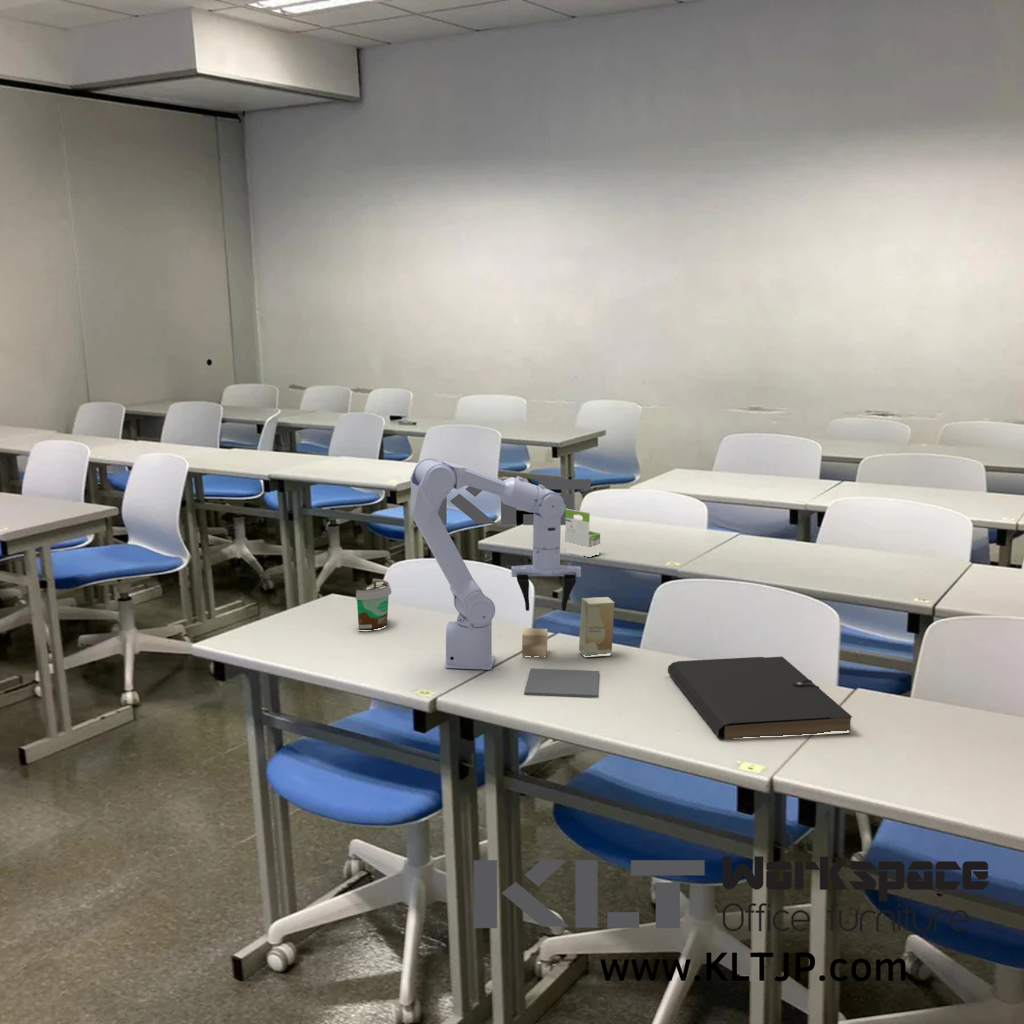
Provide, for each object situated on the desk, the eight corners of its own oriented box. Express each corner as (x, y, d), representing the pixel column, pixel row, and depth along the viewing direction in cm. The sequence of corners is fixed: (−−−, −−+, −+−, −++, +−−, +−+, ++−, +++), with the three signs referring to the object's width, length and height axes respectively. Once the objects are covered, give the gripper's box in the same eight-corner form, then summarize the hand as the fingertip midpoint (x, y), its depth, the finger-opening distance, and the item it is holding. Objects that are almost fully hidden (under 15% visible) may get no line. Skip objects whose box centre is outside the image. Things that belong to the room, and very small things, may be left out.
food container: (382, 635, 237) (381, 592, 235) (356, 633, 238) (355, 590, 236) (398, 620, 249) (398, 579, 247) (374, 618, 250) (373, 577, 248)
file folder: (853, 714, 180) (718, 722, 178) (852, 737, 181) (717, 745, 178) (783, 654, 213) (667, 660, 210) (782, 673, 213) (667, 679, 211)
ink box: (600, 556, 317) (601, 510, 314) (588, 558, 313) (589, 513, 311) (575, 550, 324) (576, 506, 322) (564, 553, 321) (564, 508, 318)
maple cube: (522, 657, 222) (522, 635, 221) (524, 650, 227) (524, 628, 226) (545, 658, 221) (545, 635, 220) (547, 651, 226) (547, 628, 225)
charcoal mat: (524, 694, 199) (524, 692, 199) (530, 670, 213) (530, 668, 213) (597, 697, 198) (597, 695, 198) (599, 673, 212) (599, 670, 212)
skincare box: (584, 659, 221) (586, 603, 218) (578, 652, 225) (579, 597, 222) (613, 656, 222) (615, 601, 220) (606, 650, 226) (608, 595, 224)
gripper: (512, 550, 214) (512, 614, 216) (583, 550, 214) (581, 614, 217) (511, 543, 221) (510, 605, 223) (579, 543, 221) (578, 605, 224)
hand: (545, 609), depth 220 cm, fingers open, 7 cm apart
